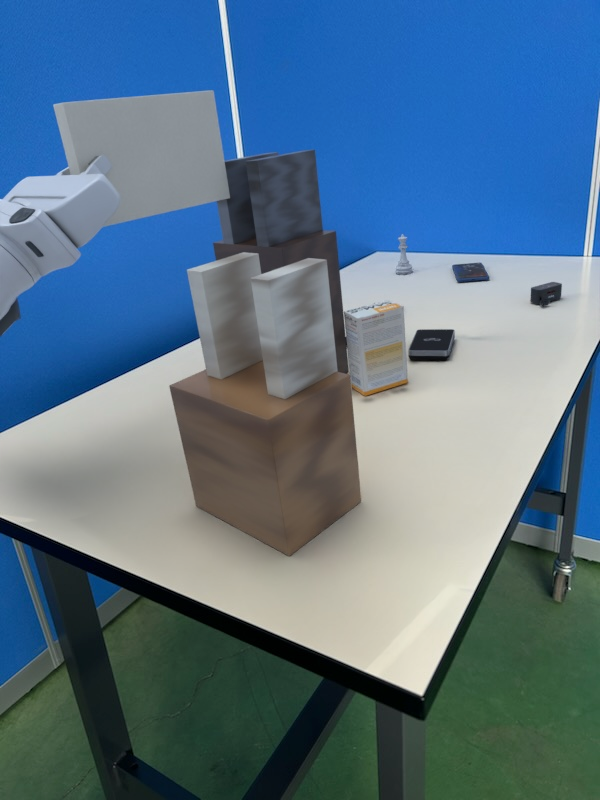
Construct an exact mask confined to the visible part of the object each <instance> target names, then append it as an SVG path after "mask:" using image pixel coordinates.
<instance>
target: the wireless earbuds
mask: <svg viewBox="0 0 600 800" xmlns="http://www.w3.org/2000/svg"><path fill="white" fill-rule="evenodd" d="M562 290H563V284H562V282H556V281H551V282H546V283H543V284H539V285H536V286H531V287H530V298H529V299H530V300H529V301H530V303H531V304H535V305H538V306H540V307H545V306H548V305H550V303H552V302H555V301H558V300H560V299H561V298H562Z"/></svg>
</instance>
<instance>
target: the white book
mask: <svg viewBox="0 0 600 800" xmlns="http://www.w3.org/2000/svg"><path fill="white" fill-rule="evenodd" d="M52 106H53V110H54V115H55V118H56V122H57V126H58V129H59V134H60V138H61V142H62V147H63V150H64V154H65V158H66V161H67V167H69V170H70V174H71V175H80V174H81V173H82V172H85V171H86V170H87V168H88V167H89V164H88V163H89V162H90V161H91V160H93V159H94V157H95V156H101V155H104V156H106V158H107V159H108V160H109V162H110V163H111V165H112V167H111V169H110V170H109V171H108V172H107V173H106V174H105V175H104V176H105V177H106V178H107V179H108V180H109V181H110V183H111V184H112V185H113V186H114V188H115V189H116V190H117V192H118V193H119V195H120V197H121V200H120V204H119V207H118V208H117V210H116V211H115V213H114V214H113V215H112V216H111V217H110V219H109V220H108V221H107V222H106V223H105V225H104V226H103V227H102V228H104V227H109V226H113V225H114V226H115V225H117V224H118V225H119V224H122V223H126V222H130V221H131V222H132V221H135V220H140V219H145V218H148V217H149V218H150V217H152V216H157V215H163V214H165V213H171V212H174V211H179V210H184V209H187V208H188V209H189V208H193V207H197V206H201V205H206V204H211V203H215V202H217V201H219V200H224V199H228V198H230V194H229V187H228V181H227V174H226V168H225V161H226V160H225V155H224V148H223V141H222V137H221V136H222V135H221V128H220V123H219V116H218V110H217V109H218V108H217V103H216V96H215V91H214V90H211V89H210V90H201V91H200V90H199V91H187V92H186V91H185V92H175V93H163V94H162V93H161V94H152V95H137V96H126V97H114V98H113V97H111V98H101V99H100V98H99V99H90V100H89V99H88V100H78V101H67V102H59V103H54V104H53V105H52Z"/></svg>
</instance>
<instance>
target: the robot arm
mask: <svg viewBox="0 0 600 800" xmlns="http://www.w3.org/2000/svg"><path fill="white" fill-rule="evenodd" d="M88 164H89V167H88V168H87V170H86V171H85V172H82V173H81V174H80V175H71V174H70V170H69V166H67V167H66V168H64V169H62V170H61V171H59V172H57V173H56V174H55V175H39V176H38V175H37V176H26V177H25V178H23V179H21V180H20V181H19V182H17V184H15V185H14V186H13V187H12V188H11V190H10V191H8V192H7V194H6V195H5V196H4V197H3V198H0V338H1V337H2V336H3V335H4V334H5V333H6V332H7V331H8V330H9V329H10V328H11V327H12V325H13V324H14V323H15V322H17V321H18V320H21V319H22V315H21V310H20V309H21V308H20V303H19V299H18V297H19V296H20V295H22V294H23V293H24V292H26V291H28V290H30V289H31V288H33V286H34V285H35V284H36V283H37V282H38V281H40V279H41V278H42V277H45V276H47V275H49V274H50V273H52V272H55V271H57V270H61V269H65V268H69V267H71V266H72V265H74V264H75V263H76V262H77V261H78V260H79V259H80V258H81V256H82V253H81V251H80V250H79V248H82V247H83V246H85V245H86V244H88V243H89V242H90V241H92V239H93V238H94V237H95V236H96V235H97V234H98V233H99V232H100V230H101V229H102V228H104V227H103V226H104V225H105V223H106V222H107V221H108V220H109V219H110V217H111V216H112V215H113V214H114V213H115V211H116V210H117V208H118V207H119V204H120V200H121V197H120V195H119V193H118V192H117V190H116V189H115V188H114V186H113V185H112V184H111V183H110V181H109V180H108V179H107V178H106V177H105V176H104V175H105V174H106V173H107V172H108V171H109V170H110V169H111V167H112V165H111V163H110V162H109V160H108V159H107V158H106V156H104V155H101V156H95V157H94V159H93V160H91V161H90V162H89V163H88Z"/></svg>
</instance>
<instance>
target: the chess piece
mask: <svg viewBox="0 0 600 800" xmlns="http://www.w3.org/2000/svg"><path fill="white" fill-rule="evenodd" d="M397 240H398V241H399V245H398V247H397V248H398V250H400V257H399V261H398V264H397V265H396V266H395V274H396V275H398V276H399V275H400V276H405V275H410V274H412V273H413V270H414V269H413V265H412V264H411V263H410V260H408V257H407V251H406V249H408V248H409V247H408V245H407V243H406V241H407V240H408V237H407V236H405V235H404V233H402V234H401V235H400V237H398V238H397Z"/></svg>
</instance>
